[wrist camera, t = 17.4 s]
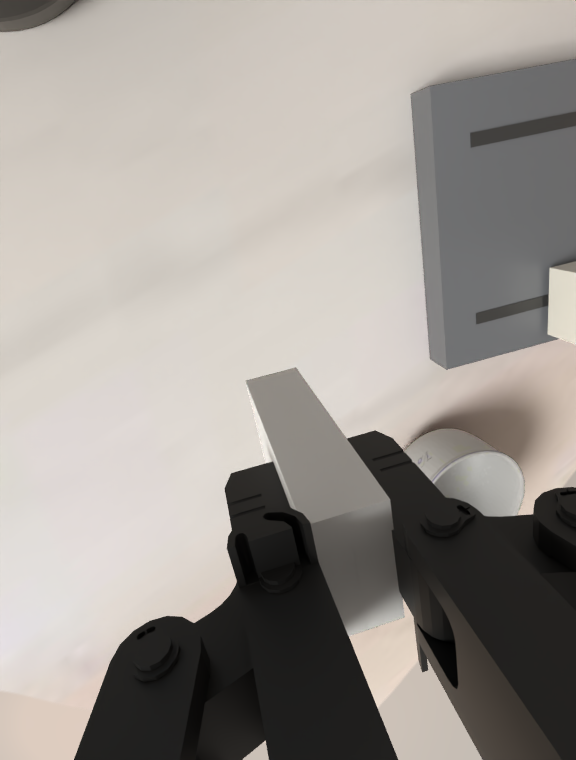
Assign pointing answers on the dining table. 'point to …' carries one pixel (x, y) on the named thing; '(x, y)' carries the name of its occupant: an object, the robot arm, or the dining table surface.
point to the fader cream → (562, 302)
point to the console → (494, 206)
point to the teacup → (470, 471)
